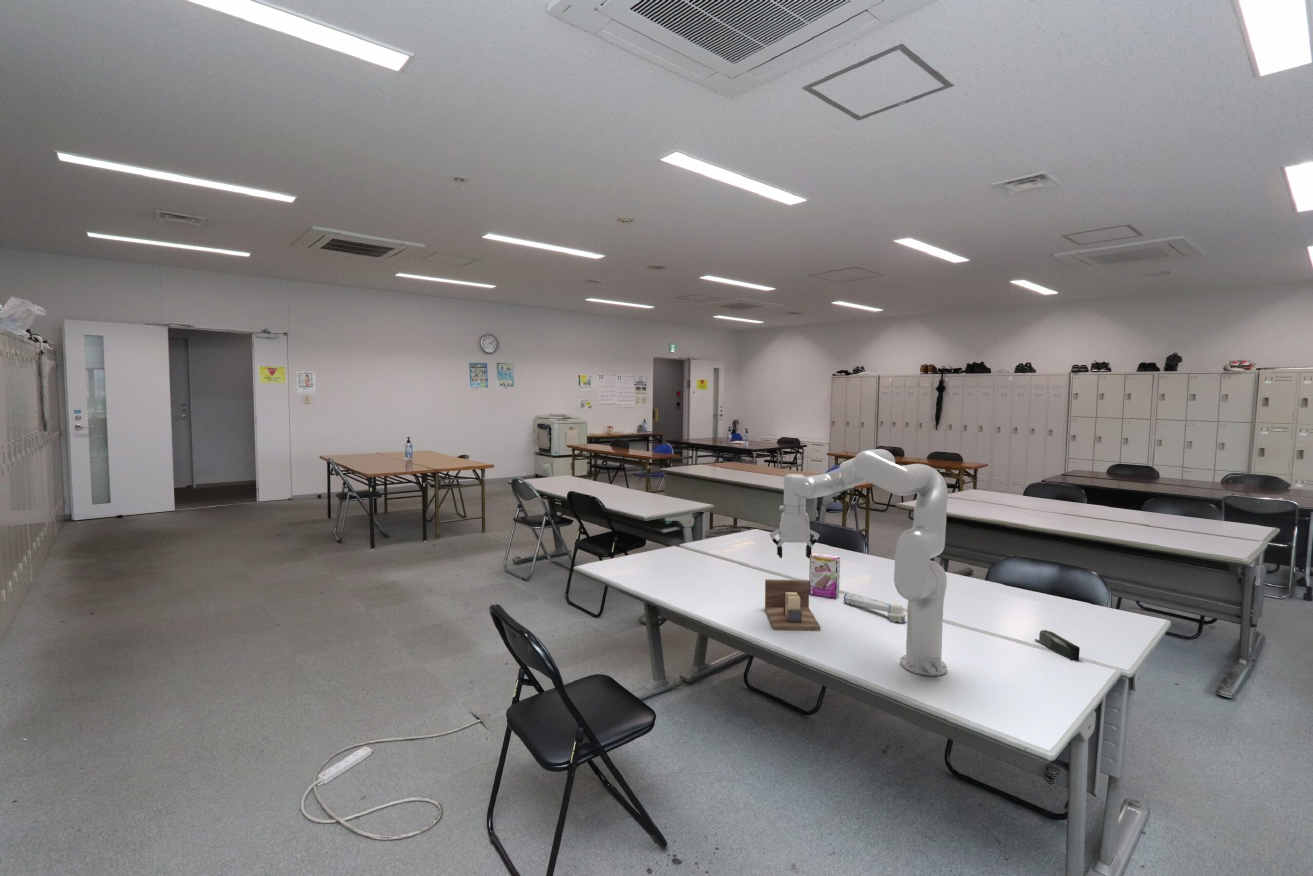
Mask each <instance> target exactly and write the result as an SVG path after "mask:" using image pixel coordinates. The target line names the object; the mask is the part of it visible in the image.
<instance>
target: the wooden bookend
mask: <svg viewBox="0 0 1313 876" xmlns="http://www.w3.org/2000/svg"><path fill="white" fill-rule="evenodd" d="M764 584H765V585H764V611H765V613H766V616H767V618H768V622H769V623H770V625H771V628H772V630H773V631H814V630H820V631H821V625H820V623H819V622H818V620H817V619H816V617H815V616H814V613H813V612H812V611H811V609H810V594H809V579H769V578H768V579H765V580H764ZM786 592H796V593H797V594H798V595H799V597H800V610H788V618H787V616H786V615H785V597H786Z"/></svg>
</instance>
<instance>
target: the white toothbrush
mask: <svg viewBox="0 0 1313 876" xmlns="http://www.w3.org/2000/svg"><path fill="white" fill-rule="evenodd" d="M843 602H844V603H845V604H846V603H848V604H847V605H849V604H851V606H852V605H854V606H853V607H860V608H866V609H870V610H875V611H881V612H886V613H887V616H889V621H891V623H897V622H898V623H899V624H902V623H905V622H906V617H907V612H904V610H903V605H902V604H900V603H889V602H884V601H882V600H881V601H880V600H876V599H872V598H870V597H866V596H861V595H857V594H856V593H853V594H852V593H846V594H844V596H843Z"/></svg>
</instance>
